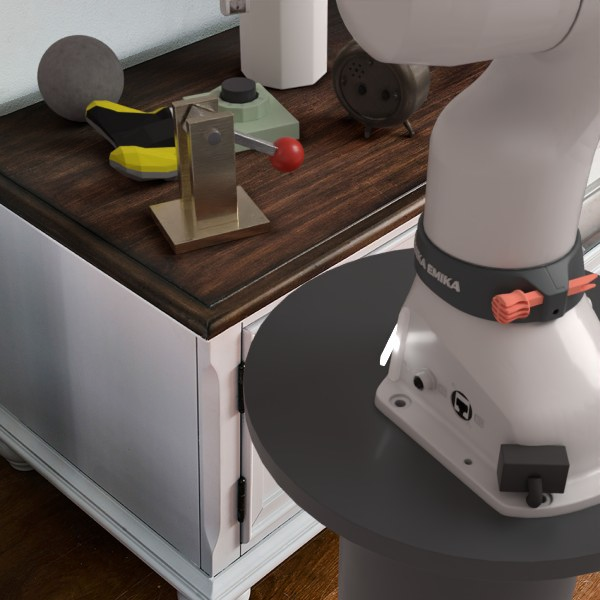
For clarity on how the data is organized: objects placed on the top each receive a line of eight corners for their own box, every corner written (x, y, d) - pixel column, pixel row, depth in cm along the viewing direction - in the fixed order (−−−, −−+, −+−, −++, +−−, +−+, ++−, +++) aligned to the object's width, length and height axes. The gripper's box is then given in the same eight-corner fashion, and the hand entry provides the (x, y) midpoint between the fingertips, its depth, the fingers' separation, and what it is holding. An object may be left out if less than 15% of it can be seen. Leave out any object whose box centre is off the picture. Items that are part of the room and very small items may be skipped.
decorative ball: (132, 130, 122) (123, 50, 116) (46, 140, 120) (33, 59, 114) (122, 95, 130) (114, 18, 124) (41, 104, 128) (29, 26, 122)
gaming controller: (118, 203, 108) (209, 185, 111) (112, 157, 105) (206, 139, 108) (86, 142, 119) (169, 127, 122) (80, 98, 116) (165, 83, 119)
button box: (299, 139, 120) (299, 107, 118) (219, 156, 117) (217, 124, 114) (259, 98, 129) (258, 68, 126) (183, 113, 125) (181, 83, 123)
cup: (245, 54, 140) (239, -86, 129) (327, 56, 139) (329, -85, 129) (237, 89, 131) (231, -58, 120) (325, 91, 130) (327, -57, 120)
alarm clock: (428, 133, 121) (439, -3, 111) (408, 152, 117) (417, 13, 108) (346, 112, 126) (350, -20, 116) (324, 129, 122) (326, -6, 112)
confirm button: (261, 101, 120) (261, 87, 119) (229, 108, 118) (228, 94, 117) (248, 88, 123) (248, 74, 122) (216, 94, 121) (216, 80, 120)
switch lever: (285, 167, 107) (301, 136, 106) (299, 182, 105) (316, 151, 103) (176, 129, 100) (192, 96, 98) (189, 145, 97) (205, 111, 96)
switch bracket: (240, 195, 110) (235, 82, 102) (270, 231, 104) (267, 115, 96) (150, 215, 106) (138, 101, 99) (175, 254, 100) (165, 136, 93)
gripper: (142, -98, 101) (154, 38, 109) (331, -121, 108) (328, 8, 116) (123, -114, 105) (136, 17, 114) (305, -135, 112) (305, -10, 120)
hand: (235, 12), depth 115 cm, fingers closed
